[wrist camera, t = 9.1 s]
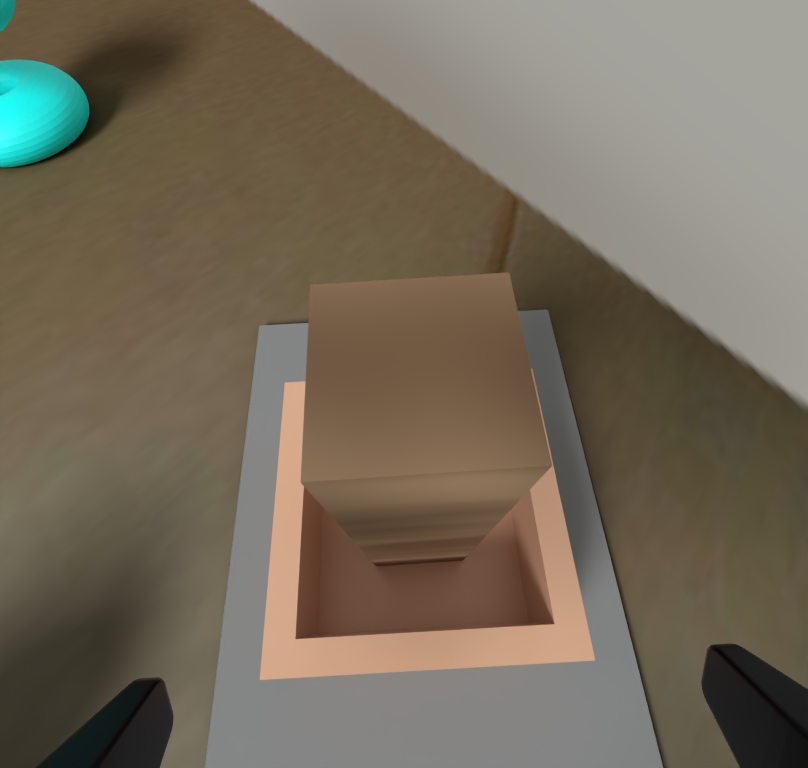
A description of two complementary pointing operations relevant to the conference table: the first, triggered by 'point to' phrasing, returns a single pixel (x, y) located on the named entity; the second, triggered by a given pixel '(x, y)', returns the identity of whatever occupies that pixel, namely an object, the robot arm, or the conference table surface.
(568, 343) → the conference table surface
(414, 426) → the square wooden post
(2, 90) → the donuts
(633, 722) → the mat
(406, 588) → the peach square bin
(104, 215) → the conference table surface
